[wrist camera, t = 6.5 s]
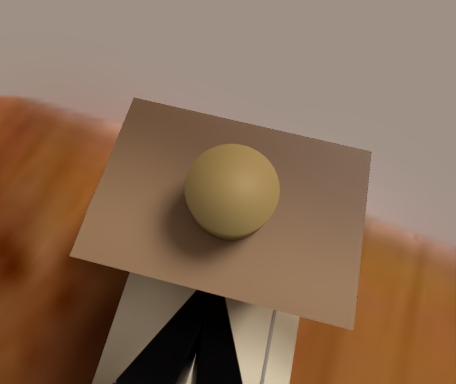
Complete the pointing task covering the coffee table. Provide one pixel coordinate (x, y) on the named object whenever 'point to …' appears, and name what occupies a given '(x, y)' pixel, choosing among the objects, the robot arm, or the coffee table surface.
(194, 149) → the tan knobbed block
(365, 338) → the coffee table surface
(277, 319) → the pine board
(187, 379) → the robot arm
